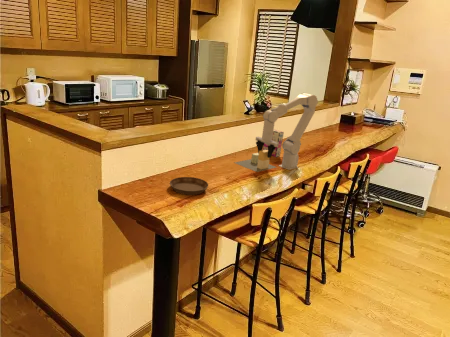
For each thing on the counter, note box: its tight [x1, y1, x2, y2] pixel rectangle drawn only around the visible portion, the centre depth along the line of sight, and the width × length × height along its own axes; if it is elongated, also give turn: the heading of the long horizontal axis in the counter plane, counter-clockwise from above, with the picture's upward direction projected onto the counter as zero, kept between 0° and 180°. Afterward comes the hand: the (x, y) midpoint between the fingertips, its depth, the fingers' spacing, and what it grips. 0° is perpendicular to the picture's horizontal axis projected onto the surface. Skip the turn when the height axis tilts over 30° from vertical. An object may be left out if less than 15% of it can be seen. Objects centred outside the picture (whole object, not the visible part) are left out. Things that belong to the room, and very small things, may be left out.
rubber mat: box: [233, 159, 277, 173], centre depth 215 cm, size 18×18×1 cm
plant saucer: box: [169, 176, 209, 196], centre depth 170 cm, size 18×18×3 cm
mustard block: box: [258, 149, 271, 161], centre depth 209 cm, size 6×4×5 cm, turn 134°
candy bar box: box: [262, 129, 284, 158], centre depth 239 cm, size 11×5×16 cm, turn 47°
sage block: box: [251, 152, 259, 164], centre depth 220 cm, size 6×4×5 cm, turn 135°
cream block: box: [257, 159, 270, 169], centre depth 211 cm, size 6×4×5 cm, turn 135°
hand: (264, 155), depth 209 cm, fingers open, 6 cm apart
